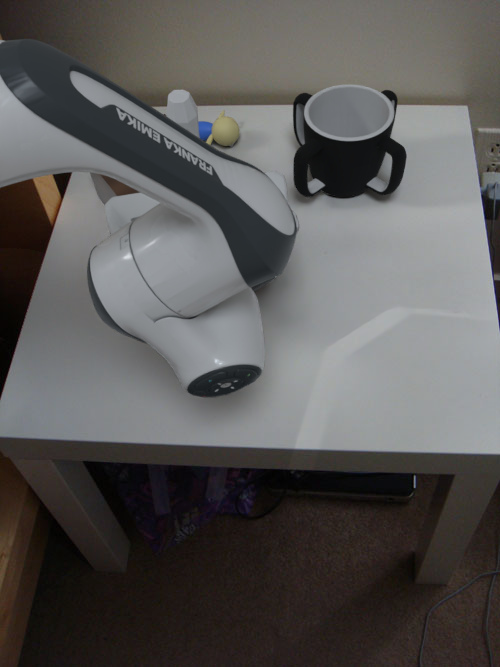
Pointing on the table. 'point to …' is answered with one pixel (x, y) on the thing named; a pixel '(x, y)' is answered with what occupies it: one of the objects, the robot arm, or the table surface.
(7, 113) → the robot arm
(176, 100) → the faceted bottle
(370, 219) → the table surface
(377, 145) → the mug
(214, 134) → the toy figure
